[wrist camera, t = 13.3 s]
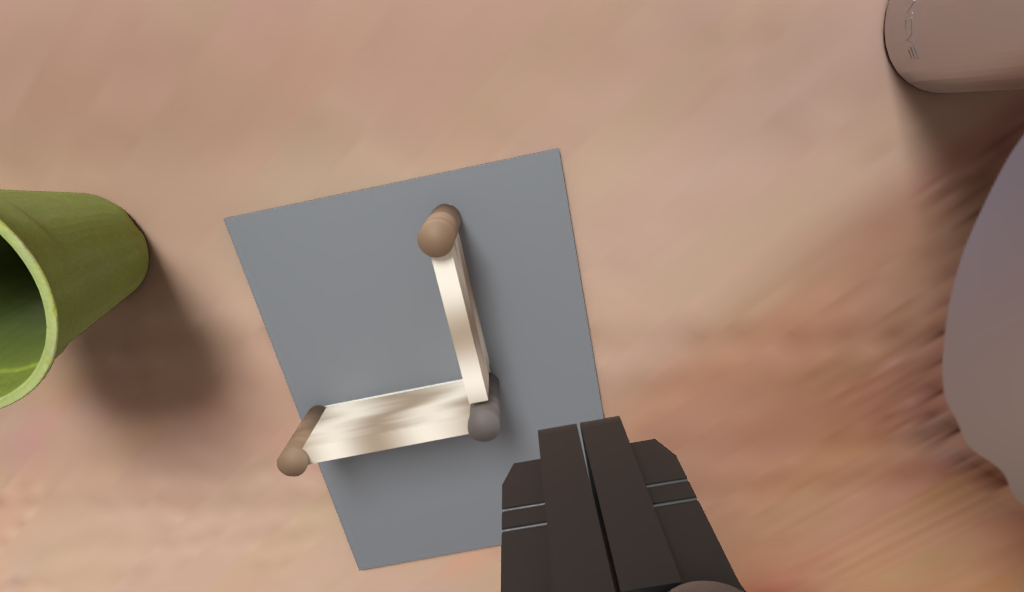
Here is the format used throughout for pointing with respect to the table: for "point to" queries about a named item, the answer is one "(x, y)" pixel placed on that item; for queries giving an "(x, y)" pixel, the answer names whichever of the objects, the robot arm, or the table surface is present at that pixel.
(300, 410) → the card
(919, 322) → the table surface
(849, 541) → the table surface
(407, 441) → the swinging fence section
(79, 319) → the plant pot
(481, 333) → the fixed fence section
